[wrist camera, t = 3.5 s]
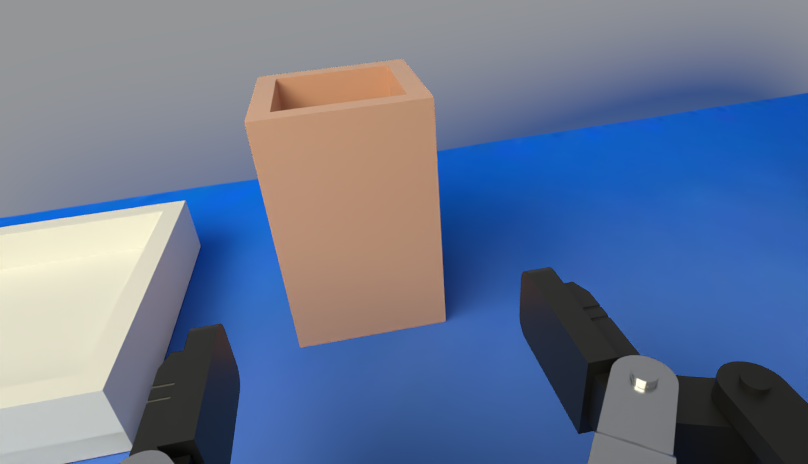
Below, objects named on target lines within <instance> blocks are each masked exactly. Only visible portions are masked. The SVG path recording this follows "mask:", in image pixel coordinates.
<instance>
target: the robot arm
mask: <svg viewBox="0 0 808 464" xmlns="http://www.w3.org/2000/svg"><path fill="white" fill-rule="evenodd" d="M520 324H521V328H522V332H523V334H524V337H525V339H526V341H527V342H528V344H529V346H530V348H531V350H532V351H533V353H534V355H535V357H536V359H537V360H538V362H539V364H540V366H541V368H542V369H543V371H544V373H545V375H546V377H547V378H548V380H549V382H550V384H551V385H552V387H553V389H554V391H555V393H556V394H557V396H558V398H559V400H560V402H561V403H562V405H563V407H564V409H565V411H566V412H567V414H568V416H569V418H570V420H571V421H572V423H573V425H574V427H575V429H576V430H577V432H578V434H581V433H586V432H590V431H594V432H595V435H594V439H593V443H592V447H591V451H590V456H589V460H588V464H808V403H807V402H806V401H805V400H804V399H803V398H802V397H801V396H800V395H799V394H798V393H797V392H796V391H795V390H794V389H793V388H792V387H791V386H790V385H789V384H788V383H787V382H786V381H785V380H784V379H782V378H781V377H780V376H779V375H777V374H776V373H775V372H773V371H771V370H769V369H767V368H765V367H763V366H760V365H757V364H753V363H749V362H739V361H737V362H730V363H727V364H724V365H723V366H721V367H720V368H719V370H718V372H717V375H716V378H703V377H688V376H678V375H675V374H674V373H673V371H672V370H671V369H670V368H669V367H667V366H666V365H665V364H663V363H661V362H660V361H658V360H655V359H653V358H650V357H646V356H641V355H640V354H639V353H638V352H637V350H636V349H635V348H634V347H633V345H632V344H631V343H630V342H629V341H628V339H627V338H626V337H625V336H624V334H623V333H622V332H621V331H620V329H619V328H618V327H617V326H616V324H615V323H614V322H613V321H612V320H611V318H608V315H607V313H606V312H605V311H604V310H603V308H602V307H600V305H599V303H598V302H597V301H596V300H595V299H594V297H593V296H592V295H591V294H590V292H589V291H587V290H585V289H584V288H582V287H580V286H579V285H577V284H575V283H574V282H569V283H563V282H562V280H561V279H560V278H559V276H558V275H557V274H556V272H555V271H554V270H553V269H552V268H550V267H547V268H542V269H536V270H530V271H525V272H523V273H522V276H521V293H520ZM239 393H240V378H239V371H238V367H237V364H236V361H235V358H234V355H233V352H232V349H231V346H230V344H229V341H228V338H227V335H226V332H225V329H224V327H223V325H222V324H216V325H210V326H204V327H199V328H193V329H190V331H189V333H188V336H187V340H186V343H185V347H184V350H183V351H178V352H172V353H170V355H169V356H168V357H167V358H166V360H165V361H164V362H163V363H162V364H161V366H160V367H159V368H158V370H157V373H156V376H155V379H154V382H153V385H152V389H151V391H150V394H149V397H148V404H146V406H145V409H144V412H143V415H142V419H141V422H140V425H139V428H138V431H137V434H136V437H135V440H134V443H133V446H132V449H131V452H130V455H129V457H128V458H126V459H124V460H123V461H121V462H120V463H119V464H230V461H231V453H232V446H233V438H234V431H235V423H236V416H237V408H238V400H239Z"/></svg>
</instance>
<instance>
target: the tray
mask: <svg viewBox="0 0 808 464" xmlns="http://www.w3.org/2000/svg"><path fill="white" fill-rule="evenodd" d="M200 247H201V245H200V242H199V239H198V236H197V233H196V230H195V227H194V224H193V221H192V218H191V215H190V212H189V209H188V206H187V203H186V200H184V201H178V202H171V203H164V204H157V205H150V206H143V207H137V208H130V209H123V210H116V211H109V212H103V213H96V214H89V215H82V216H75V217H69V218H62V219H55V220H48V221H41V222H35V223H28V224H21V225H14V226H7V227H1V228H0V464H65V463H70V462H75V461H80V460H85V459H90V458H96V457H101V456H106V455H111V454H116V453H121V452H126V451H131V449H132V446H133V443H134V440H135V437H136V434H137V431H138V428H139V425H140V422H141V419H142V415H143V412H144V409H145V406H146V404H148V397H149V394H150V391H151V389H152V385H153V382H154V379H155V376H156V373H157V370H158V368H159V367H160V366H161V364H162V363H163V361H164V358H165V355H166V352H167V349H168V346H169V343H170V340H171V336H172V333H173V330H174V327H175V324H176V321H177V318H178V315H179V312H180V309H181V306H182V303H183V299H184V296H185V293H186V290H187V287H188V284H189V281H190V278H191V275H192V272H193V269H194V266H195V263H196V259H197V256H198V253H199V250H200Z"/></svg>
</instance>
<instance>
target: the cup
mask: <svg viewBox="0 0 808 464" xmlns="http://www.w3.org/2000/svg"><path fill="white" fill-rule="evenodd" d="M244 124H245V128H246V132H247V136H248V140H249V144H250V148H251V151H252V156H253V160H254V164H255V168H256V172H257V176H258V180H259V184H260V188H261V192H262V196H263V200H264V204H265V208H266V212H267V216H268V220H269V224H270V228H271V232H272V236H273V240H274V244H275V248H276V252H277V256H278V260H279V264H280V268H281V272H282V276H283V280H284V284H285V288H286V293H287V297H288V301H289V305H290V309H291V313H292V317H293V321H294V325H295V329H296V333H297V337H298V341H299V345H300V348H302V347H307V346H313V345H318V344H324V343H329V342H335V341H340V340H346V339H352V338H357V337H363V336H368V335H374V334H379V333H385V332H390V331H396V330H401V329H407V328H413V327H418V326H424V325H429V324H435V323H440V322H446V314H445V295H444V276H443V258H442V239H441V220H440V202H439V183H438V165H437V147H436V127H435V109H434V97H433V96H432V94H431V93H430V92H429V91H428V89H427V88H425V86H424V85H423V83H422V82H421V81H420V80H419V78H418V77H417V76H416V75H415V74H414V72H413V71H412V70H411V69H410V67H409V66H408V65H407V64H406V63H405V61H404V60H403V59H399V60H391V61H383V62H375V63H366V64H358V65H350V66H342V67H334V68H326V69H319V70H310V71H302V72H294V73H286V74H278V75H270V76H261V77H258V79H257V82H256V86H255V89H254V92H253V95H252V99H251V102H250V105H249V109H248V112H247V115H246V119H245V122H244Z"/></svg>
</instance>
